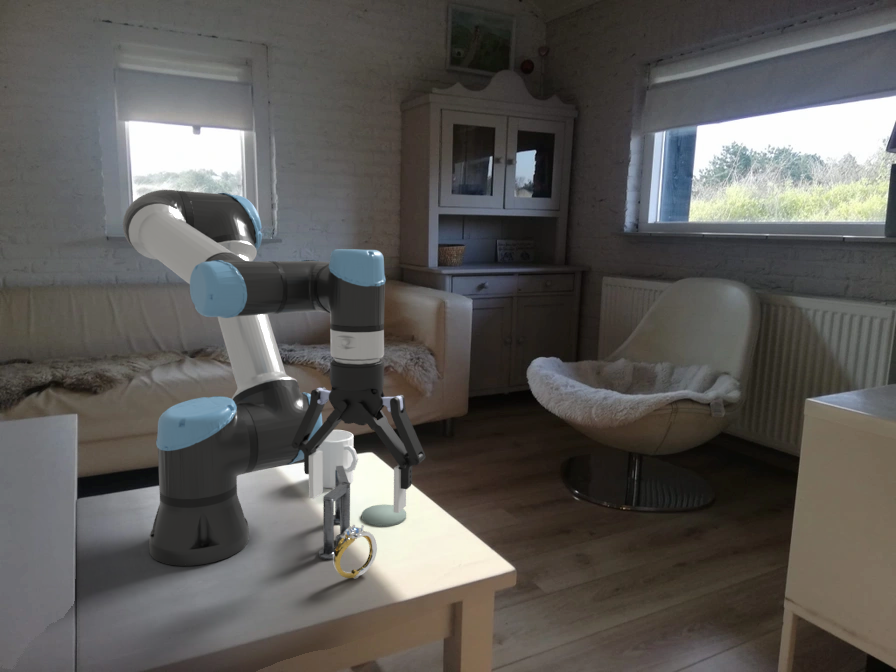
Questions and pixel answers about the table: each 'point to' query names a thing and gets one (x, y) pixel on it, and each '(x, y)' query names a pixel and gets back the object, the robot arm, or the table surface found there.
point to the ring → (340, 548)
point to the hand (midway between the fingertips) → (356, 502)
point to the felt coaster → (383, 515)
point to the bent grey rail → (341, 512)
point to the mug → (338, 456)
